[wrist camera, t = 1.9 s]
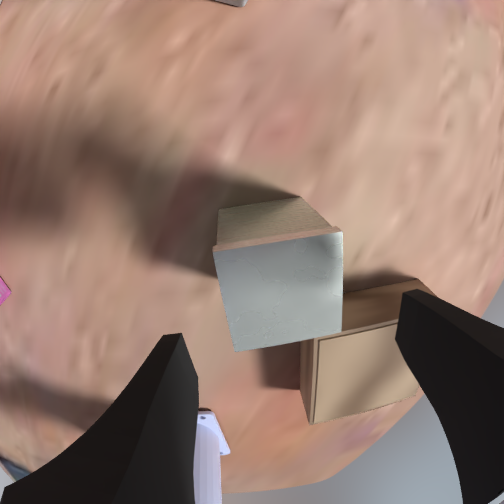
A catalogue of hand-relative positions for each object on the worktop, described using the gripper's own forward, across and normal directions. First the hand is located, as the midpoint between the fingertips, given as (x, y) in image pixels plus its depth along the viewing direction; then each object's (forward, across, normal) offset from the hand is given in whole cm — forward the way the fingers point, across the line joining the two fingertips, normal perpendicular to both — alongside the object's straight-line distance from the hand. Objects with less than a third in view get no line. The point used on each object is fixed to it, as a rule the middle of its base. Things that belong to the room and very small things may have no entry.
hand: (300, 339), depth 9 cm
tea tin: (+9, 0, 0) cm, 9 cm away
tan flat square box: (+9, -6, +9) cm, 14 cm away
